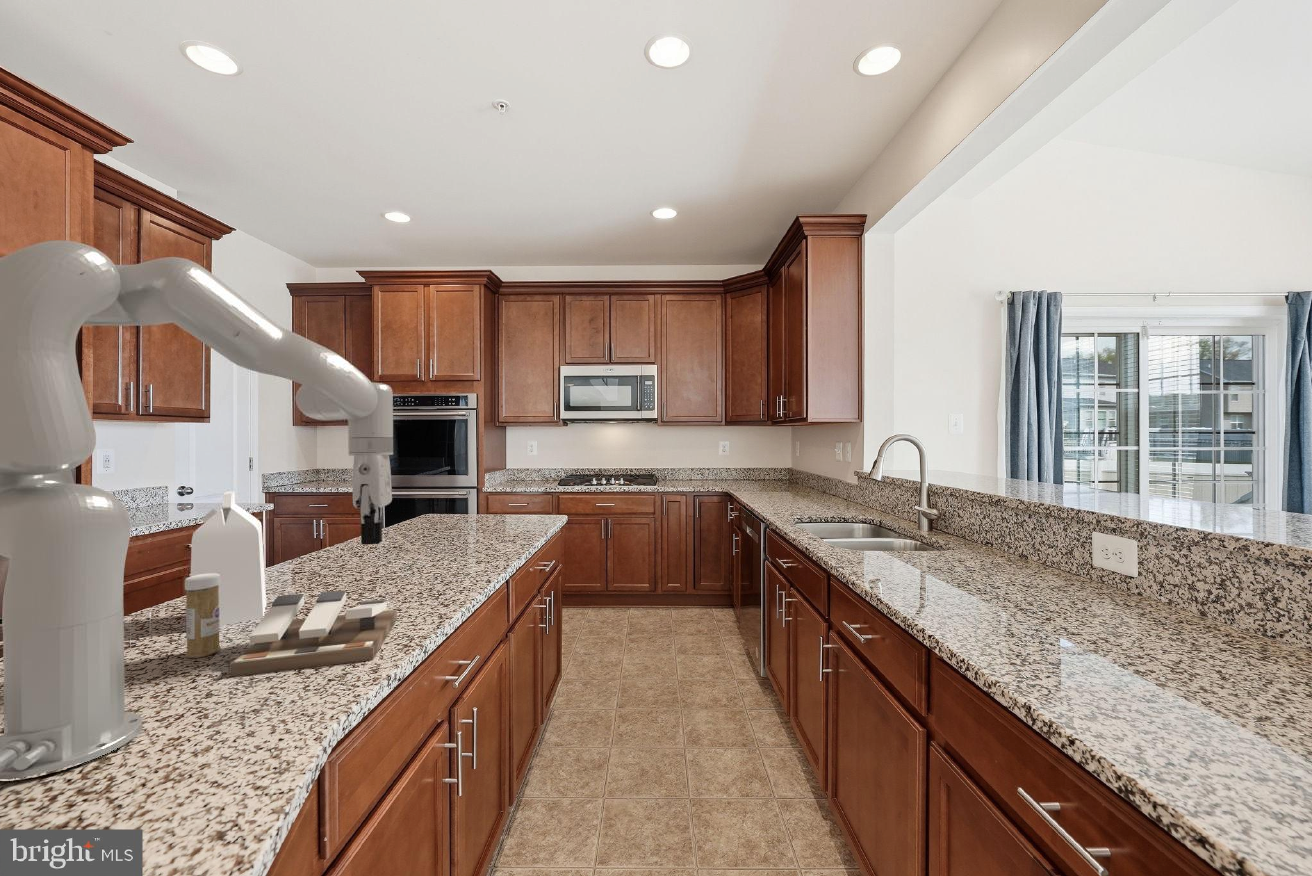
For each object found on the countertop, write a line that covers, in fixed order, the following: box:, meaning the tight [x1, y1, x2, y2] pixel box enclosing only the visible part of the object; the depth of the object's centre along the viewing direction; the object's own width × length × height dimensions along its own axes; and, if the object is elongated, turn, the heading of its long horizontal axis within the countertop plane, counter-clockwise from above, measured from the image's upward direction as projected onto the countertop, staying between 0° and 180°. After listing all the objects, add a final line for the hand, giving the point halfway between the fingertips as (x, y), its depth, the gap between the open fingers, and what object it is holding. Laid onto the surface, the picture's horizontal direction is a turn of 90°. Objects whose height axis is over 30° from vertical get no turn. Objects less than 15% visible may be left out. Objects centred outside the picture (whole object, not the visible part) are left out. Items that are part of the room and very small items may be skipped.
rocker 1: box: [249, 593, 305, 645], centre depth 91 cm, size 12×4×2 cm, turn 16°
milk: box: [190, 491, 267, 627], centre depth 109 cm, size 12×12×26 cm
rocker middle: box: [299, 590, 347, 639], centre depth 93 cm, size 12×4×2 cm, turn 16°
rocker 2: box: [345, 598, 388, 619], centre depth 95 cm, size 12×4×2 cm, turn 16°
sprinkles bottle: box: [184, 573, 221, 659], centre depth 90 cm, size 5×5×14 cm
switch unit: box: [229, 609, 398, 677], centre depth 93 cm, size 20×20×4 cm
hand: (371, 543), depth 99 cm, fingers closed
